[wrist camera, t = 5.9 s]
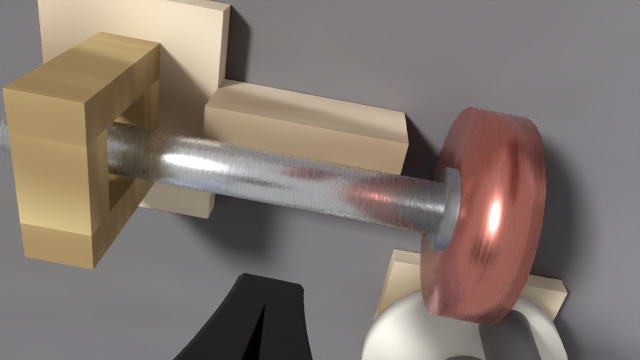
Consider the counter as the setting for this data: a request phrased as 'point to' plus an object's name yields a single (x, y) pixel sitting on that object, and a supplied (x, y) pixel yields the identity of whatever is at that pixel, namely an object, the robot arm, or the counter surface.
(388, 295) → the wheel pedestal
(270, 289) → the robot arm
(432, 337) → the wheel
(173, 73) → the eye post
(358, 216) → the metal rod with cap
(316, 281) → the counter surface
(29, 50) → the counter surface
